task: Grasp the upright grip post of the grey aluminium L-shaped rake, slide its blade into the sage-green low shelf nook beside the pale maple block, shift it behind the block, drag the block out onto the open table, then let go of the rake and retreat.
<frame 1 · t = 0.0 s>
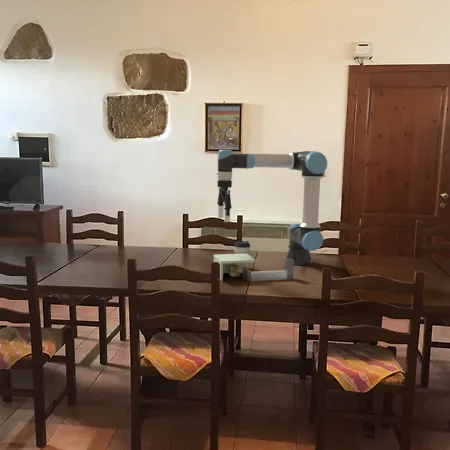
hand: (223, 220, 271), 28 cm above the table, fingers open, 13 cm apart
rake: (288, 278, 265), on the table
block: (234, 275, 269), on the table
shelf nook: (233, 276, 266), on the table
coffee cup: (241, 268, 284), on the table
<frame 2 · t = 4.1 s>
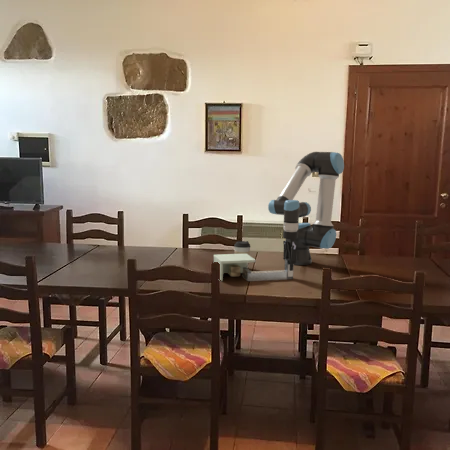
hand: (288, 275, 264), 2 cm above the table, fingers closed on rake, 3 cm apart
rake: (288, 278, 265), on the table, touching gripper
everything else where it was.
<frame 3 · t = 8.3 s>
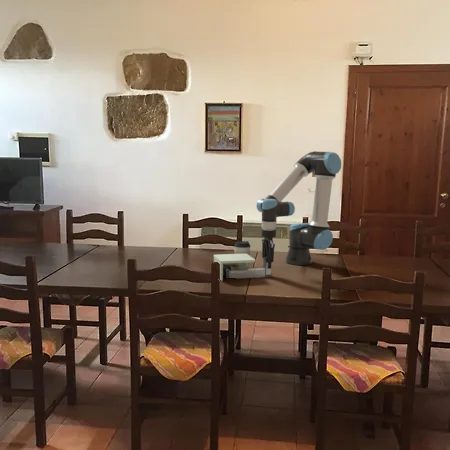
hand: (267, 273, 268), 2 cm above the table, fingers closed on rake, 3 cm apart
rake: (267, 276, 268), on the table, touching gripper
everything else where it was.
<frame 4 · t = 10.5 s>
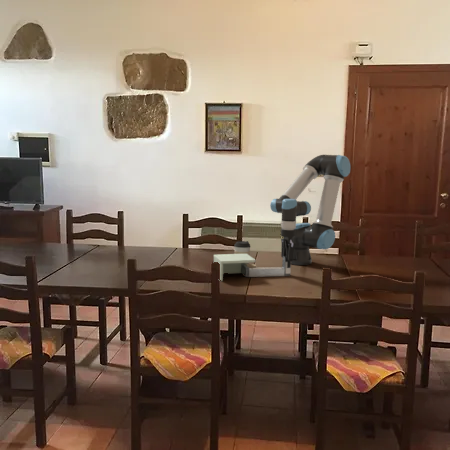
hand: (286, 272, 271), 2 cm above the table, fingers closed on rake, 3 cm apart
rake: (286, 275, 271), on the table, touching block, gripper
block: (249, 274, 271), on the table, touching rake
everything else where it was.
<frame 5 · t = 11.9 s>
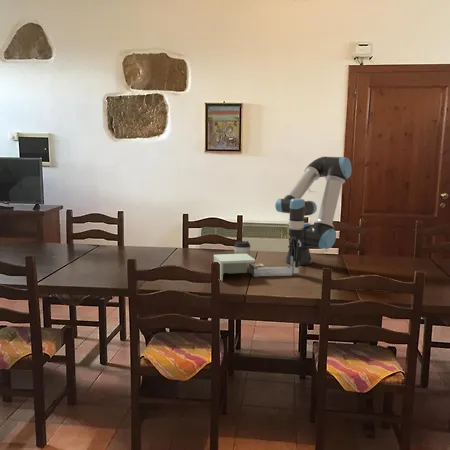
hand: (294, 272, 272), 2 cm above the table, fingers closed on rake, 3 cm apart
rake: (293, 274, 272), on the table, touching block, gripper
block: (257, 273, 272), on the table, touching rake
everything else where it was.
when the fingers open (2 cm above the table, at t = 12.7 s): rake stays where it is, on the table.
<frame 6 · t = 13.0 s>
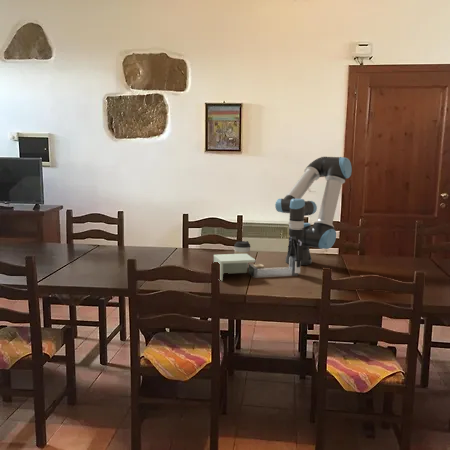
hand: (294, 270, 271), 2 cm above the table, fingers open, 8 cm apart
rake: (293, 274, 272), on the table
block: (257, 274, 272), on the table
everything else where it was.
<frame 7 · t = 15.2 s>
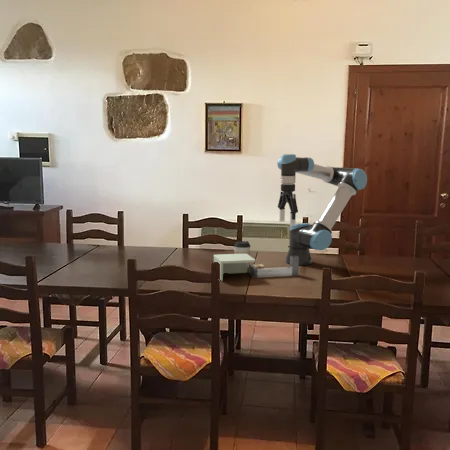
hand: (287, 223, 274), 26 cm above the table, fingers open, 13 cm apart
nothing on the table moved.
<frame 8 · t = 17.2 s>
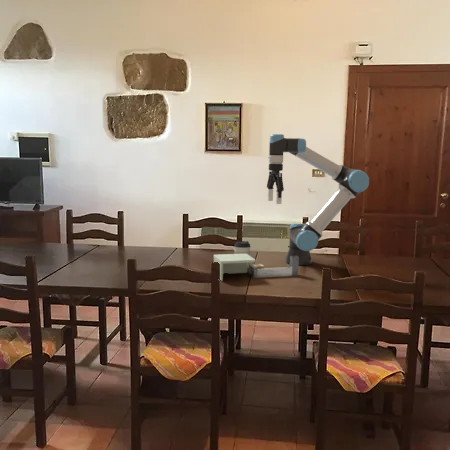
hand: (274, 202, 280), 37 cm above the table, fingers open, 13 cm apart
nothing on the table moved.
at the end: block inside the target area (2.0 cm from its centre), on the table; block moved 12.9 cm from its start; the gripper is holding nothing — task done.
